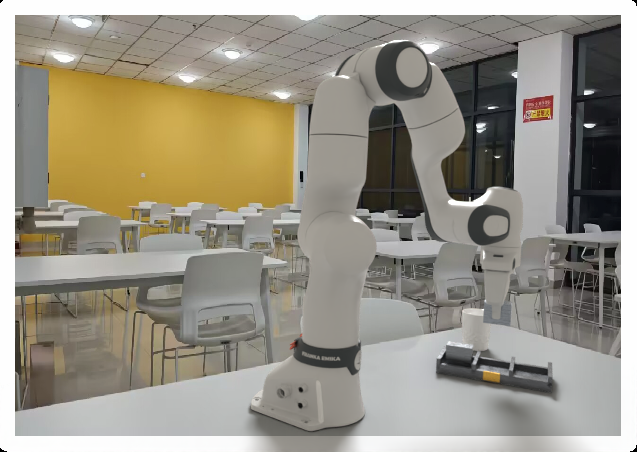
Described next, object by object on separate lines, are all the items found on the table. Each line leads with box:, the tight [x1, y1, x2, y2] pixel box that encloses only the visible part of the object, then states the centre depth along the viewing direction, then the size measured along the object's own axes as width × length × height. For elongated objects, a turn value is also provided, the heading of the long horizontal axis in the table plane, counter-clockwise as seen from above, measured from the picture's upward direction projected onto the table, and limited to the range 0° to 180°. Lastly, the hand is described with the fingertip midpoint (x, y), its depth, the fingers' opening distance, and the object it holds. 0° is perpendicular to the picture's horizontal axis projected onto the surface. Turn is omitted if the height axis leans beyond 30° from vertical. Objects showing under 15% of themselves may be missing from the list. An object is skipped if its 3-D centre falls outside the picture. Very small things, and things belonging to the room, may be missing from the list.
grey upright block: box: [483, 298, 513, 327], centre depth 119 cm, size 6×3×5 cm, turn 66°
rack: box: [435, 340, 554, 393], centre depth 120 cm, size 25×10×6 cm, turn 66°
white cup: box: [461, 307, 492, 352], centre depth 140 cm, size 8×8×10 cm
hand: (497, 316), depth 119 cm, fingers closed on grey upright block, 3 cm apart
